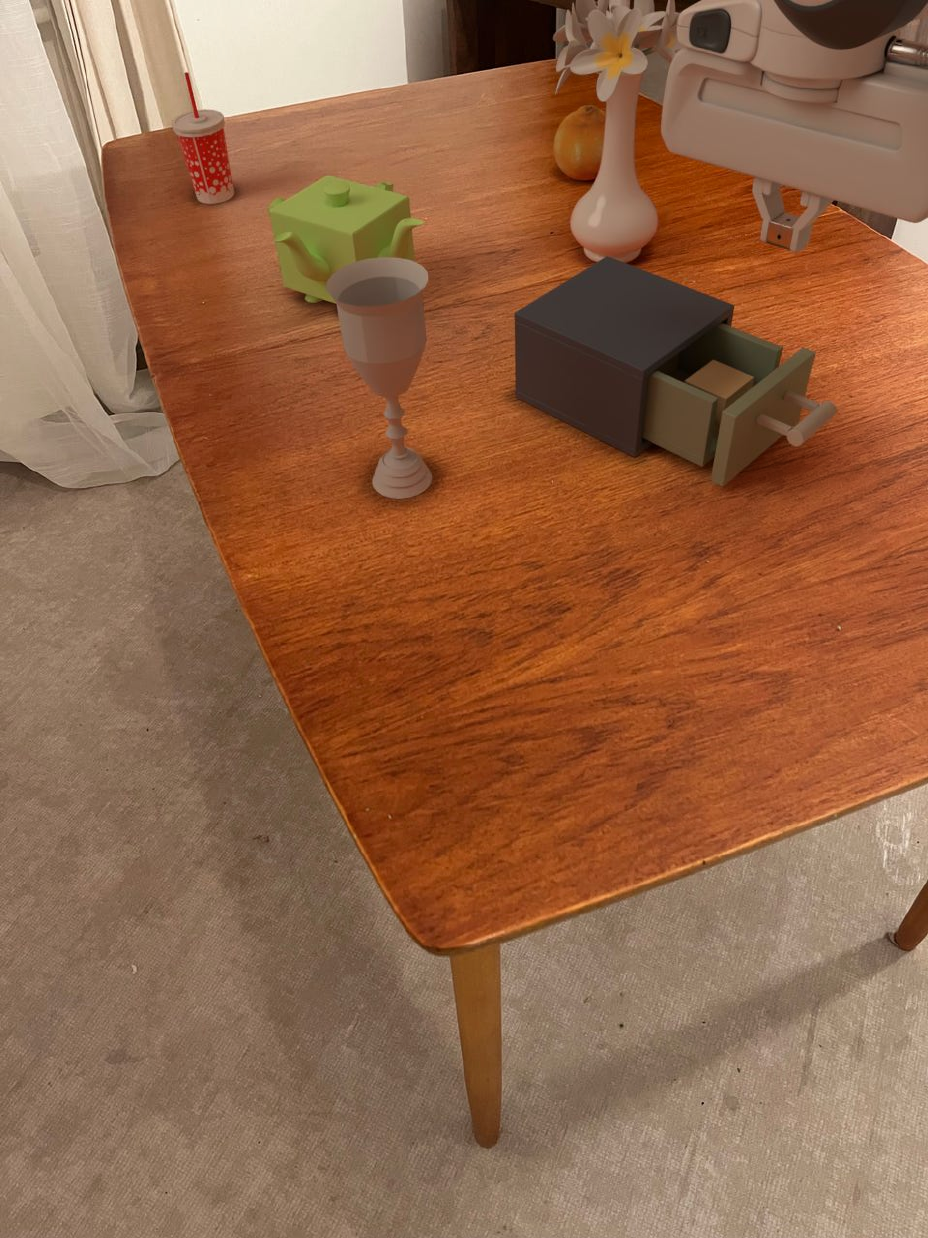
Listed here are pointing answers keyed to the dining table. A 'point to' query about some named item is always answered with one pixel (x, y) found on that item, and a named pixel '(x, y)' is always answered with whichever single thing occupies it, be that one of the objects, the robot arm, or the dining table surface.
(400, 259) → the chalice
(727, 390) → the block
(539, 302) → the cabinet
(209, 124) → the beverage cup
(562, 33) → the flower vase
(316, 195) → the kettle
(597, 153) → the fruit
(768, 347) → the drawer
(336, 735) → the dining table surface
